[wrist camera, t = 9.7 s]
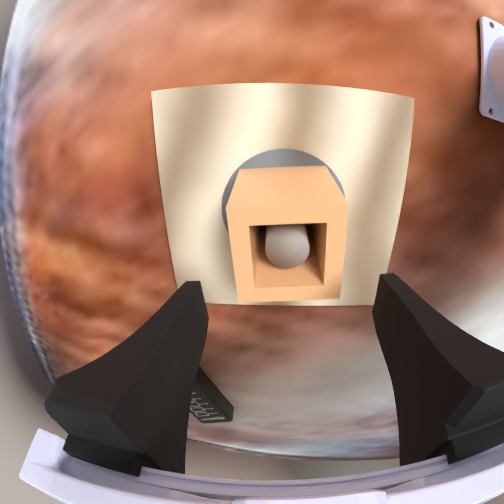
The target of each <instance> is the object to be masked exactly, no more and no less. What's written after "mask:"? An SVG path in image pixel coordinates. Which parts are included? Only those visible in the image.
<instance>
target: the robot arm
mask: <svg viewBox="0 0 504 504" xmlns="http://www.w3.org/2000/svg"><path fill="white" fill-rule="evenodd" d="M479 21H480V36H481V89H480V105H479V111H480V113H481V115H483V116H485V117H488V118H491V119H494V120H497V121H500V122H503V123H504V26H503V25H501V24H499V23H497V22H495V21H493V20H491V19H489V18H487V17H485V16H484V17H480V20H479ZM489 23H490V24H491V27H490V24H489ZM489 109H490V110H491V112H490V114H489ZM372 314H373V319H374V324H375V329H376V333H377V336H378V339H379V342H380V346H381V349H382V352H383V355H384V358H385V361H386V364H387V367H388V370H389V373H390V377H391V381H392V385H393V390H394V396H395V402H396V410H397V418H398V429H399V445H400V467H396V468H391V469H386V470H381V471H376V472H369V473H363V474H356V475H349V476H341V477H331V478H322V479H307V480H238V479H224V478H212V477H202V476H195V475H187V474H185V454H186V440H187V428H188V419H189V411H190V403H191V396H192V390H193V386H194V382H195V378H196V374H197V371H198V367H199V363H200V360H201V356H202V352H203V349H204V345H205V341H206V335H207V328H208V320H209V317H208V313H207V308H206V304H205V300H204V295H203V291H202V286H201V282H200V281H185V282H184V283H183V285H182V286H181V287H180V288H179V289H178V290H177V291H176V292H175V293H174V294H173V295H172V296H171V297H170V299H169V300H168V301H167V302H166V303H165V304H164V305H163V306H162V307H161V308H160V309H159V310H158V311H157V312H156V313H155V314H154V315H153V316H152V317H151V318H150V319H149V320H148V321H147V322H146V323H145V324H144V325H143V326H142V327H140V328H139V329H138V330H137V331H136V332H135V333H133V334H132V335H131V336H130V337H128V338H127V339H126V340H125V341H123V342H122V343H121V344H119V345H118V346H116V347H115V348H113V349H112V350H110V351H109V352H107V353H106V354H104V355H103V356H101V357H99V358H97V359H96V360H94V361H92V362H90V363H88V364H87V365H85V366H83V367H81V368H79V369H76V370H74V371H72V372H70V373H67V374H65V375H63V376H60V377H58V378H57V379H56V381H55V383H54V385H53V387H52V389H51V391H50V393H49V395H48V397H47V399H46V401H45V404H44V405H45V409H46V411H47V412H48V414H49V415H50V416H51V417H52V418H53V419H54V420H55V421H56V422H57V423H58V424H59V425H60V426H61V427H62V428H63V429H64V430H65V431H66V432H67V433H68V436H67V439H64V438H63V437H61V436H58V435H56V434H54V433H51V432H49V431H46V430H43V429H41V428H39V429H38V431H37V433H36V435H35V438H34V440H33V442H32V444H31V447H30V449H29V451H28V454H27V456H26V459H25V461H24V464H23V467H22V469H21V472H20V474H19V477H20V479H22V480H24V481H25V482H27V483H29V484H30V485H32V486H34V487H35V488H37V489H39V490H41V491H43V492H44V493H46V494H48V495H50V496H51V497H53V498H55V499H57V500H59V501H61V502H64V503H66V504H482V503H484V502H486V501H488V500H490V499H492V498H494V497H496V496H498V495H500V494H502V493H503V492H504V352H502V351H500V350H498V349H496V348H494V347H491V346H489V345H487V344H485V343H484V342H482V341H480V340H478V339H476V338H475V337H473V336H471V335H469V334H468V333H466V332H465V331H463V330H462V329H460V328H459V327H457V326H456V325H454V324H453V323H452V322H450V321H449V320H447V319H446V318H445V317H443V316H442V315H441V314H440V313H439V312H437V311H436V310H435V309H434V308H432V307H431V306H430V305H429V304H428V303H427V302H425V301H424V300H423V299H422V298H421V297H420V296H419V295H418V294H416V293H415V292H414V291H413V290H412V289H411V288H410V287H409V286H408V285H407V284H405V283H404V282H403V281H402V280H401V279H400V278H399V277H398V276H396V275H395V274H394V273H389V274H380V276H379V282H378V287H377V292H376V297H375V302H374V306H373V311H372ZM211 499H220V500H230V501H233V502H216V501H212V500H211Z"/></svg>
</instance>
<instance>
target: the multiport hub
mask: <svg viewBox="0 0 504 504" xmlns="http://www.w3.org/2000/svg"><path fill="white" fill-rule="evenodd" d="M233 410H234V407H233V406H232V405H231V404H230V403H229V401H228V400H227V399H226V398H225V397H224V396H223V394H222V393H221V392H220V391H219V390H218V388H217V387H216V386H215V385H214V384H213V382H212V381H211V380H210V379H209V378H208V376H207V375H206V374H205V373H204V371H203V370H202V369H201V368H200V366H199V367H198V371H197V374H196V378H195V382H194V386H193V390H192V396H191V403H190V411H189V412H190V413H191V414H192V415H193V416H195V417H196V418H197V419H198V420H199V421H200V422H201V423H216V422H229V421H232V419H233Z"/></svg>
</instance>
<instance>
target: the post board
mask: <svg viewBox="0 0 504 504" xmlns="http://www.w3.org/2000/svg"><path fill="white" fill-rule="evenodd" d="M151 93H152V107H153V120H154V131H155V141H156V151H157V160H158V169H159V177H160V185H161V192H162V200H163V207H164V214H165V220H166V227H167V233H168V239H169V245H170V251H171V257H172V262H173V268H174V273H175V278H176V283H177V289H179V288H180V287H181V286H182V285H183V283H184V282H185V281H200V282H201V286H202V291H203V295H204V300H205V303H215V304H242V305H290V306H342V305H374V302H375V297H376V292H377V287H378V282H379V276H380V274H386V272H387V269H388V265H389V261H390V257H391V252H392V248H393V244H394V239H395V235H396V230H397V225H398V221H399V215H400V210H401V205H402V199H403V194H404V188H405V182H406V175H407V168H408V161H409V153H410V145H411V136H412V126H413V114H414V100H415V98H413V97H407V96H402V95H397V94H391V93H385V92H378V91H371V90H364V89H356V88H347V87H337V86H326V85H311V84H289V83H240V84H218V85H203V86H191V87H181V88H173V89H164V90H157V91H151ZM295 166H326V167H327V169H328V170H329V172H330V174H331V175H332V177H333V179H334V180H335V182H336V184H337V185H338V187H339V189H340V190H341V192H342V194H343V195H344V197H345V199H346V200H347V202H348V213H347V229H346V242H345V254H344V265H343V275H342V284H341V293H340V299H322V300H301V301H273V302H238V296H237V288H236V281H235V274H234V267H233V259H232V252H231V244H230V237H229V229H228V221H227V213H226V206H227V203H228V200H229V197H230V194H231V192H232V189H233V186H234V183H235V180H236V178H237V175H238V172H239V169H252V168H270V167H295ZM306 230H311V223H304V224H277V225H259V232H261V231H266V248H265V251H266V255H267V258H268V259H269V261H270V262H271V263H273V264H274V265H276V266H278V267H281V268H293V267H296V266H299V265H300V264H302V263H303V262H304V261H305V260H306V259H307V257H308V255H309V250H310V248H309V242H308V237H307V232H306Z"/></svg>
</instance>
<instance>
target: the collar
mask: <svg viewBox="0 0 504 504" xmlns="http://www.w3.org/2000/svg"><path fill="white" fill-rule="evenodd" d="M226 213H227V221H228V229H229V237H230V244H231V252H232V259H233V267H234V274H235V281H236V288H237V296H238V302H273V301H301V300H322V299H340V293H341V284H342V275H343V265H344V254H345V242H346V229H347V213H348V202H347V200H346V199H345V197H344V195H343V194H342V192H341V190H340V189H339V187H338V185H337V184H336V182H335V180H334V179H333V177H332V175H331V174H330V172H329V170H328V169H327V167H326V166H295V167H270V168H252V169H239V172H238V175H237V178H236V180H235V183H234V186H233V189H232V192H231V194H230V197H229V200H228V203H227V206H226ZM304 223H311V230H306V232H307V237H308V242H309V248H310V250H309V255H308V257H307V259H306V260H305V261H304V262H303V263H302V264H300V265H299V266H296V267H293V268H281V267H278V266H276V265H274V264H273V263H271V262H270V261H269V259H268V258H267V255H266V251H265V248H266V231H261V232H259V225H277V224H304Z"/></svg>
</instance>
